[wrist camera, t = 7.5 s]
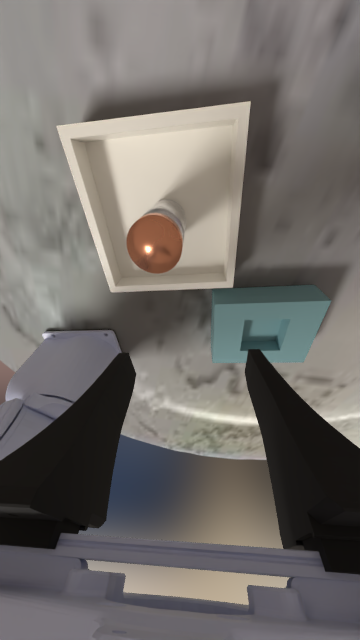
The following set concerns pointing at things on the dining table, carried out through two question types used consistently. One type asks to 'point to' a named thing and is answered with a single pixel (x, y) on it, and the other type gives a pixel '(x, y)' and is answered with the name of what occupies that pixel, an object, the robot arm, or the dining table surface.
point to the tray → (163, 189)
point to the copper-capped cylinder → (158, 237)
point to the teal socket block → (266, 322)
